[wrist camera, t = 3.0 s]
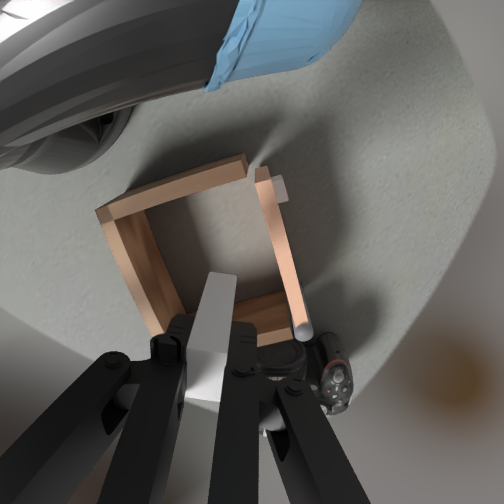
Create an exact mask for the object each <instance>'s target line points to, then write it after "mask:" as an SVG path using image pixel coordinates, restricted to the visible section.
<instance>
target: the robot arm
mask: <svg viewBox="0 0 504 504" xmlns="http://www.w3.org/2000/svg"><path fill="white" fill-rule="evenodd" d="M362 1H363V0H0V170H2V169H5V168H9V167H14V168H19V169H23V170H27V171H31V172H36V173H40V174H49V175H51V174H61V173H65V172H69V171H72V170H75V169H78V168H81V167H83V166H86V165H88V164H90V163H91V162H93V161H95V160H96V159H97V158H99V157H100V156H101V155H102V154H104V153H105V152H106V151H107V150H108V149H109V148H110V147H111V146H112V144H113V143H114V142H115V141H116V139H117V138H118V136H119V135H120V133H121V132H122V130H123V128H124V127H125V125H126V123H127V121H128V118H129V116H130V113H131V111H132V108H133V105H136V104H140V103H143V102H147V101H151V100H154V99H158V98H162V97H166V96H170V95H174V94H178V93H183V92H187V91H191V90H196V89H201V88H202V89H203V92H211V91H215V90H217V89H220V88H221V87H222V86H223V84H224V83H226V82H230V81H235V80H240V79H245V78H250V77H255V76H261V75H266V74H272V73H279V72H285V71H291V70H296V69H299V68H302V67H305V66H308V65H310V64H312V63H314V62H316V61H317V60H318V59H320V58H321V57H322V56H323V55H324V54H325V53H326V52H327V51H328V50H330V48H331V47H332V46H333V45H334V44H336V43H337V42H338V41H339V40H340V39H341V38H342V36H343V35H344V34H345V32H346V31H347V30H348V28H349V26H350V25H351V23H352V22H353V20H354V18H355V16H356V14H357V12H358V10H359V8H360V6H361V3H362ZM236 282H237V275H232V274H224V273H217V272H209V275H208V278H207V281H206V285H205V288H204V291H203V294H202V298H201V301H200V304H199V307H198V311H197V314H196V316H192V315H185V314H179V313H178V314H176V315H175V316H174V317H173V318H171V320H170V323H169V325H168V328H167V330H166V333H162V334H158V335H156V336H154V337H153V338H152V339H151V340H150V350H151V358H150V359H147V360H143V361H130V359H129V357H128V356H127V355H125V354H124V353H121V352H117V351H110V352H107V353H104V354H103V355H101V356H100V357H99V358H98V359H97V360H96V361H95V362H94V363H93V364H92V365H91V366H90V367H89V368H88V369H87V370H86V371H85V372H84V373H82V374H81V375H80V377H78V378H77V380H75V381H74V382H73V383H72V384H71V385H70V386H69V387H68V388H67V389H66V390H65V391H64V392H63V393H62V394H61V395H60V396H59V397H58V398H57V399H56V400H55V401H54V402H53V403H52V404H51V405H50V406H49V407H48V409H46V410H45V411H44V412H43V414H41V415H40V416H39V418H37V420H35V422H34V423H33V424H32V425H31V426H30V427H29V428H28V429H27V430H26V431H25V432H24V433H23V434H22V435H21V436H20V437H19V438H18V439H17V440H16V441H15V442H14V443H13V444H12V445H11V446H10V447H9V449H7V450H6V452H5V453H4V454H3V455H2V456H1V457H0V504H66V503H67V502H68V501H69V499H70V498H71V496H72V495H73V494H74V493H75V491H76V490H77V489H78V487H79V486H80V485H81V483H82V482H83V481H84V479H85V478H86V477H87V475H88V474H89V473H90V471H91V470H92V469H93V467H94V466H95V465H96V463H97V462H98V461H99V459H100V458H101V457H102V455H103V454H104V452H105V451H106V450H107V449H108V447H109V446H110V444H111V443H112V442H113V440H114V439H115V438H116V437H117V435H118V434H119V433H120V431H121V430H122V429H123V430H122V433H121V436H120V439H119V441H118V444H117V447H116V450H115V452H114V455H113V458H112V461H111V464H110V467H109V470H108V472H107V475H106V478H105V481H104V484H103V487H102V490H101V493H100V496H99V500H98V502H97V504H163V501H164V496H165V491H166V486H167V481H168V477H169V472H170V467H171V462H172V458H173V453H174V448H175V444H176V439H177V434H178V430H179V426H180V421H181V417H182V412H183V408H184V396H185V392H186V397H190V398H196V399H202V400H209V401H216V402H220V406H219V414H218V422H217V431H216V438H215V446H214V455H213V463H212V472H211V480H210V488H209V496H208V504H258V478H259V476H258V475H259V473H258V471H259V467H258V466H259V427H261V428H264V429H265V432H266V435H267V438H268V441H269V444H270V446H271V450H272V452H273V455H274V458H275V461H276V464H277V467H278V470H279V473H280V476H281V479H282V482H283V484H284V487H285V490H286V493H287V495H288V498H289V501H290V504H371V503H370V501H369V499H368V497H367V495H366V493H365V491H364V489H363V488H362V486H361V484H360V482H359V480H358V478H357V476H356V474H355V473H354V470H353V468H352V466H351V464H350V463H349V460H348V459H347V457H346V455H345V453H344V451H343V449H342V447H341V445H340V443H339V441H338V439H337V437H336V435H335V433H334V431H333V429H332V427H331V425H330V423H329V421H328V420H327V418H326V416H325V414H324V412H323V410H322V408H321V406H320V404H319V402H318V400H317V398H316V396H315V394H314V392H313V390H312V388H311V386H310V385H309V384H308V383H307V382H306V381H305V380H303V379H301V378H298V377H285V378H283V379H281V380H280V381H279V382H277V381H274V380H271V379H269V378H267V377H265V376H264V375H262V374H261V373H260V371H259V370H258V367H257V329H256V327H255V326H254V324H253V323H248V322H240V321H233V320H232V313H233V305H234V297H235V290H236ZM123 427H124V428H123Z"/></svg>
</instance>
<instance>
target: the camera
mask: <svg viewBox="0 0 504 504" xmlns="http://www.w3.org/2000/svg"><path fill="white" fill-rule="evenodd" d="M257 367H258V370H259V371H260V373H261V374H262V375H264V376H265V377H267V378H269V379H271V380H274V381H277V382H279V381H280V380H281V379H283V378H285V377H298V378H301V379H303V380H305V381H306V382H307V383H308V384H309V385H310V386H311V388H312V390H313V392H314V394H315V396H316V398H317V400H318V402H319V404H320V406H321V408H322V410H323V412H324V414H325V415H336V414H339V413H341V412H343V411H345V410H346V409H347V408H348V406H349V404H350V402H351V398H352V393H353V376H352V370H351V366H350V363H349V360H348V357H347V355H346V353H345V350H344V348H343V346H342V344H341V342H340V340H339V338H338V337H337V336H336V335H335V334H333V333H330V332H329V333H324V334H323V335H322V336H321V337H320V338H319V339H318V341H317V343H316V344H315V345H314V346H304V345H303V344H302V342H301V341H299V340H297V339H296V338H295V337H293V339H290V340H286V341H281V342H277V343H273V344H268V345H264V346H259V347H257ZM259 434H261V435H263V436H267V435H266V432H265V429H264V428H261V427H259Z"/></svg>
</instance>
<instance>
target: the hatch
mask: <svg viewBox="0 0 504 504" xmlns="http://www.w3.org/2000/svg"><path fill="white" fill-rule="evenodd" d="M255 185H256V189H257V192H258V196H259V199H260V203H261V206H262V209H263V213H264V216H265V220H266V223H267V227H268V230H269V234H270V237H271V241H272V244H273V248H274V251H275V255H276V258H277V262H278V265H279V269H280V273H281V276H282V280H283V283H284V287H285V291H286V294H287V298H288V302H289V305H290V310H291V316H292V322H293V328H294V334H295V338H296V339H297V340H299V341H308V340H309V339H311V338H312V336H313V328H312V324H311V320H310V316H309V312H308V308H307V304H306V300H305V296H304V292H303V289H302V285H301V283H300V282H299V281H298V278H297V274H296V270H295V266H294V262H293V258H292V254H291V250H290V247H289V243H288V239H287V235H286V231H285V228H284V224H283V220H282V217H281V213H280V209H279V206H278V204H279V203H282V202H286V201H289V199H288V195H287V192H286V188H285V184H284V180H283V178H282V176H281V175H277V176H273V177H270V173H269V170H268V166H264V167H260V168H256V169H255Z"/></svg>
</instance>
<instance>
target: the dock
mask: <svg viewBox="0 0 504 504" xmlns="http://www.w3.org/2000/svg"><path fill="white" fill-rule="evenodd" d="M248 167H249V166H248V163H247V159H246V156H245V153H242V154H238V155H235V156H231V157H228V158H225V159H221V160H218V161H215V162H212V163H208V164H205V165H202V166H199V167H196V168H193V169H190V170H187V171H184V172H181V173H178V174H175V175H172V176H169V177H166V178H163V179H160V180H158V181H155V182H152V183H149V184H146V185H144V186H141V187H138V188H136V189H133V190H130V191H128V192H125V193H123V194H121V195H120V196H118V197H116V198H114V199H113V200H111V201H109V202H108V203H106V204H104V205H103V206H101V207H99V208H98V209H96V210H95V212H96V214H97V217H98V219H99V222H100V224H101V227H102V229H103V232H104V234H105V237H106V239H107V242H108V244H109V246H110V249H111V251H112V253H113V256H114V258H115V260H116V263H117V265H118V267H119V269H120V272H121V274H122V276H123V278H124V280H125V282H126V285H127V287H128V289H129V291H130V293H131V295H132V297H133V299H134V301H135V303H136V305H137V308H138V310H139V312H140V314H141V316H142V318H143V319H144V321H145V323H146V325H147V327H148V329H149V331H150V333H151V335H152V337H154V336H156V335H158V334H162V333H166V330H167V328H168V325H169V323H170V320H171V318H173V317H174V316H175V315H176V314H178V313H179V314H185V315H192V316H196V314H197V312H192V313H188V314H186V312H185V310H184V307H183V305H182V303H181V301H180V298H179V296H178V294H177V291H176V289H175V287H174V284H173V282H172V280H171V277H170V275H169V273H168V270H167V268H166V265H165V263H164V261H163V258H162V256H161V253H160V251H159V248H158V246H157V243H156V241H155V238H154V235H153V233H152V230H151V228H150V225H149V222H148V220H147V217H146V215H145V212H144V209H147V208H150V207H153V206H156V205H159V204H162V203H165V202H168V201H171V200H174V199H177V198H180V197H183V196H186V195H190V194H193V193H196V192H199V191H202V190H206V189H209V188H212V187H215V186H219V185H222V184H225V183H229V182H232V181H236V180H239V179H243V178H246V177H247V172H248ZM232 320H233V321H240V322H248V323H253V324H254V326H255V327H256V329H257V347H259V346H264V345H268V344H273V343H277V342H281V341H286V340H290V339H293V335H292V328H291V322H290V315H289V309H288V302H287V298H286V295H285V291H281V292H277V293H273V294H269V295H265V296H261V297H257V298H253V299H249V300H245V301H240V302H236V303H234V305H233V313H232Z"/></svg>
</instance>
